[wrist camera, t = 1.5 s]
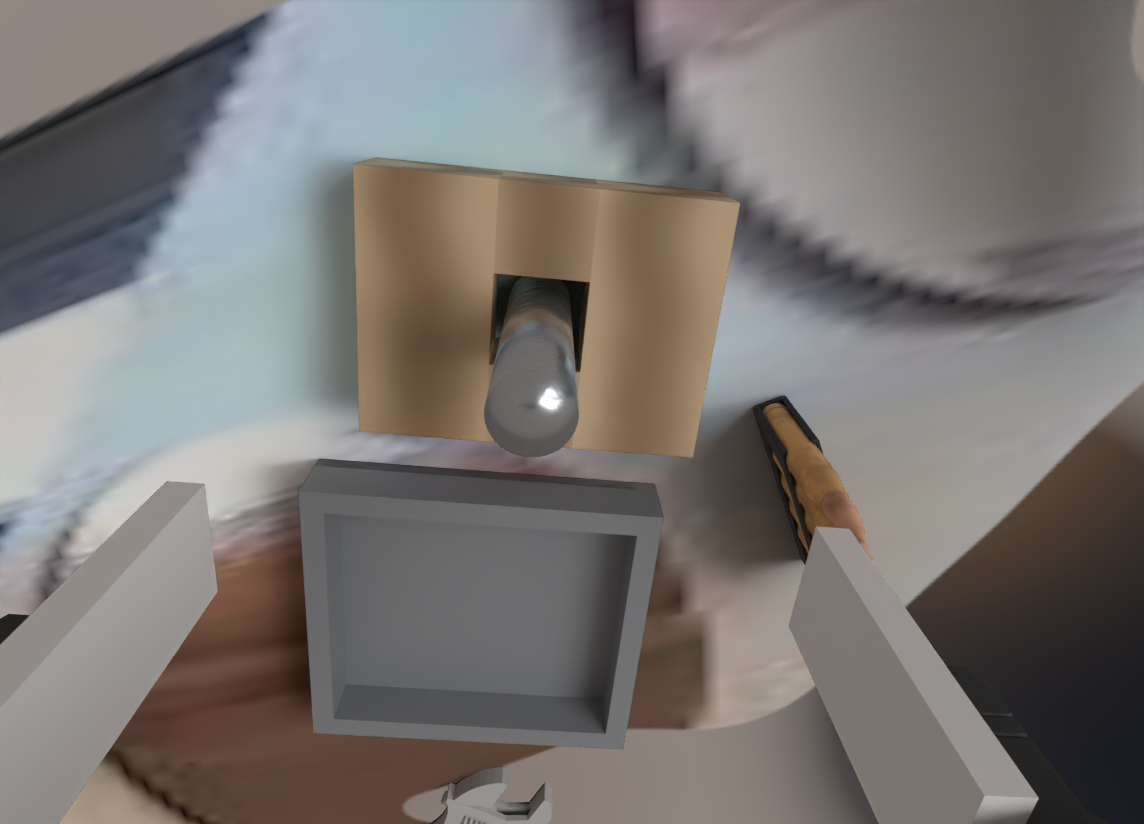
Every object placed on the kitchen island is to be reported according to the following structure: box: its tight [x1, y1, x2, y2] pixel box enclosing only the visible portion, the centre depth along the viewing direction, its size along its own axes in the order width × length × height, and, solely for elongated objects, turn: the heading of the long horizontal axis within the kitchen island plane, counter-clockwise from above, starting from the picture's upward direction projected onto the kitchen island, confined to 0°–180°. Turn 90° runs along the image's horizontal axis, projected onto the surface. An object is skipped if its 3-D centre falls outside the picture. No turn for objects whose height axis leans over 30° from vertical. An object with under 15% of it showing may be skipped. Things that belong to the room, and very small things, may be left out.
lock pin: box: [484, 276, 579, 457], centre depth 29 cm, size 3×3×14 cm
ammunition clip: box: [753, 396, 873, 564], centre depth 34 cm, size 11×2×12 cm, turn 22°
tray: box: [298, 459, 663, 749], centre depth 41 cm, size 18×16×4 cm
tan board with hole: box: [353, 158, 740, 458], centre depth 33 cm, size 16×12×4 cm
